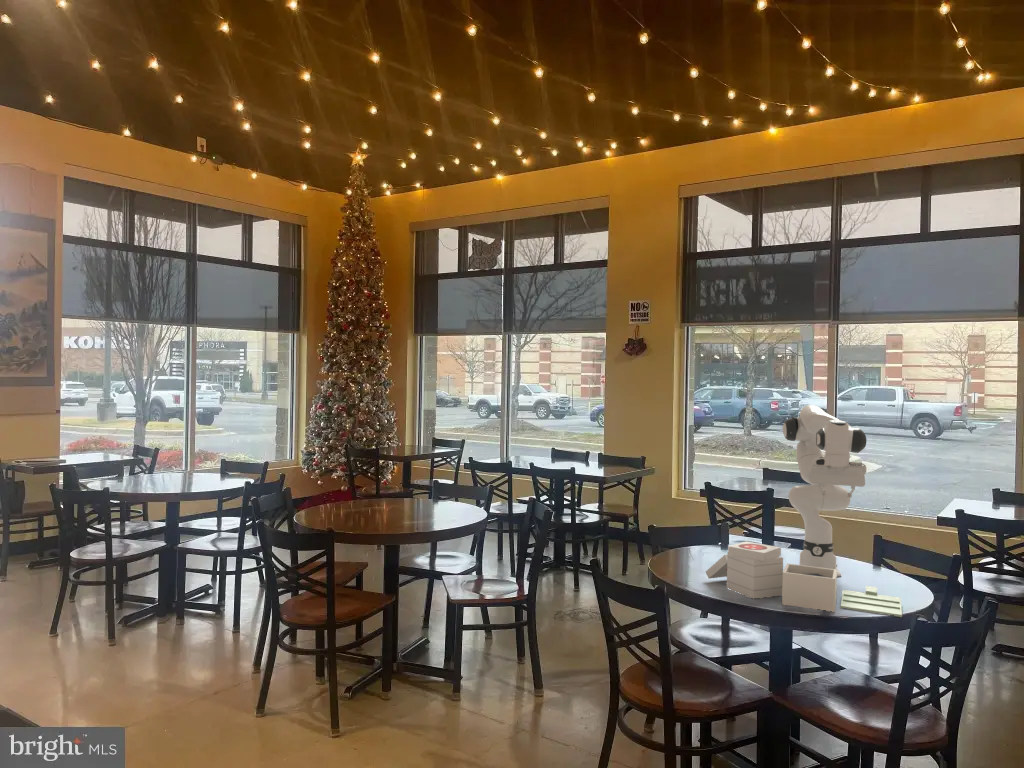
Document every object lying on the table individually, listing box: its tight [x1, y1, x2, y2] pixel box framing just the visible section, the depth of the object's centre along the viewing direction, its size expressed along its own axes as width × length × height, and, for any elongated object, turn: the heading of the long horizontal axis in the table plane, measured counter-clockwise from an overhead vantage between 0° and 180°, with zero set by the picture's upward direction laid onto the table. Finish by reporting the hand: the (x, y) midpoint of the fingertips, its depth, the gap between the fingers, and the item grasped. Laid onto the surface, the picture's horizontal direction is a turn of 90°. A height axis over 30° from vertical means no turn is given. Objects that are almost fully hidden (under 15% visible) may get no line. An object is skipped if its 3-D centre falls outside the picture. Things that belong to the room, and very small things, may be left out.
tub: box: [781, 563, 838, 613], centre depth 268 cm, size 16×18×12 cm
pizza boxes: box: [705, 541, 784, 600], centre depth 286 cm, size 19×30×18 cm, turn 24°
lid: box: [840, 585, 903, 618], centre depth 268 cm, size 24×20×4 cm
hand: (836, 496), depth 279 cm, fingers open, 8 cm apart
